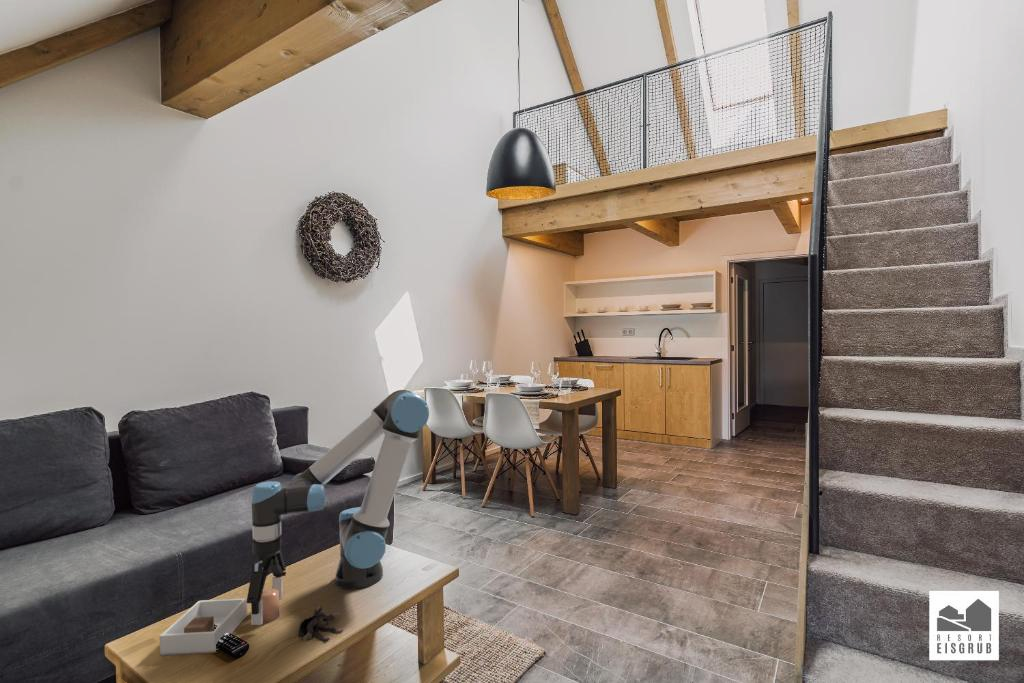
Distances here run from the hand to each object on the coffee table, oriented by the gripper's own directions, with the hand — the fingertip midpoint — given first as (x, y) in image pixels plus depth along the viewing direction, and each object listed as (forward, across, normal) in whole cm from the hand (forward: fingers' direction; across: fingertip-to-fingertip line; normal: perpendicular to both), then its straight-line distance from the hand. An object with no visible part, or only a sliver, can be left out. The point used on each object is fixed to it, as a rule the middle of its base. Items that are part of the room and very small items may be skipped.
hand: (267, 611), depth 148 cm
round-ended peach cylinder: (+2, 0, 0) cm, 2 cm away
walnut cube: (+2, +11, -13) cm, 17 cm away
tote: (+2, +7, -14) cm, 15 cm away
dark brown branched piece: (+2, +7, +17) cm, 18 cm away
